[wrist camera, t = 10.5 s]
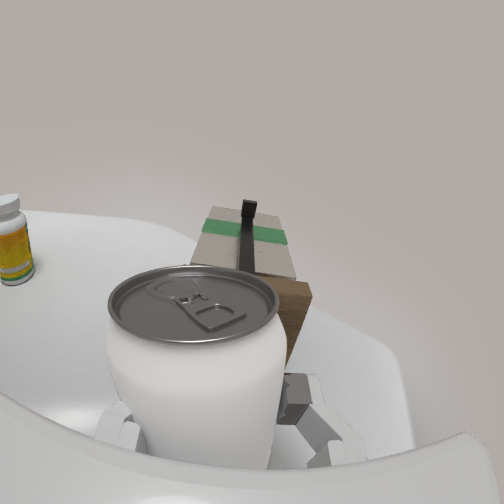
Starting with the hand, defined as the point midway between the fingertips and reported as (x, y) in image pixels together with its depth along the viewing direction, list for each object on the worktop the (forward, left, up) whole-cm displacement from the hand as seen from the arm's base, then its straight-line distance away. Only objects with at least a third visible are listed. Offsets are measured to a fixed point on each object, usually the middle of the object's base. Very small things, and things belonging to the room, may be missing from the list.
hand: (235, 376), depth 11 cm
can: (+1, -2, -8) cm, 8 cm away
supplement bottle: (-30, 0, -9) cm, 31 cm away
